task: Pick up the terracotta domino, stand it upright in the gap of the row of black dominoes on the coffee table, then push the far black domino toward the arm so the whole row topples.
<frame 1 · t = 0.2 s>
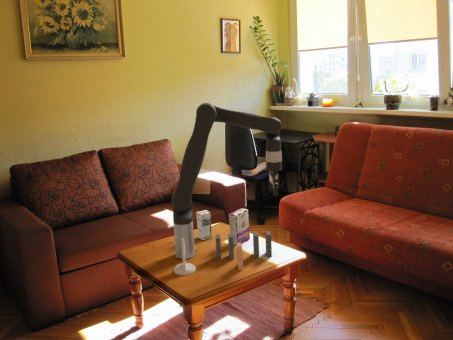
hand: (274, 193, 227), 29 cm above the table, tool pointing down, fingers open, 8 cm apart
domino 2: (256, 255, 227), on the table
domino 5: (218, 258, 226), on the table
candy bar box: (240, 242, 245), on the table
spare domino: (240, 267, 215), on the table
domino 1: (268, 254, 227), on the table
domino 4: (231, 257, 226), on the table
white paper towel holder: (184, 270, 214), on the table
syrup box: (204, 238, 253), on the table
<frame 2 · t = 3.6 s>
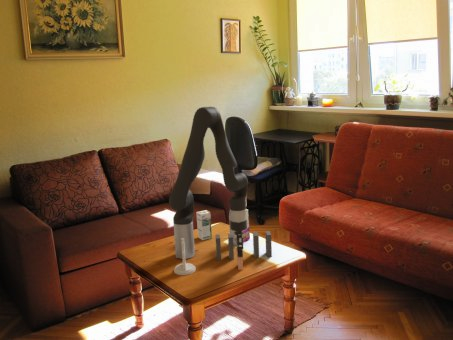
hand: (239, 254, 213), 6 cm above the table, tool pointing down, fingers closed on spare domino, 5 cm apart
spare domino: (240, 267, 215), on the table, touching gripper
everything else where it was.
when the fingers open (7 cm above the table, at t = 9.8 s): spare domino stays where it is, on the table.
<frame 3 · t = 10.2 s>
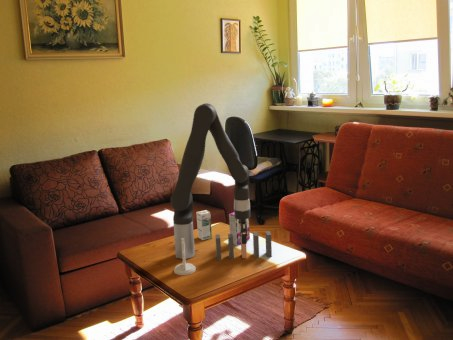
hand: (243, 240, 225), 8 cm above the table, tool pointing down, fingers open, 8 cm apart
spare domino: (244, 256, 227), on the table
everything else where it was.
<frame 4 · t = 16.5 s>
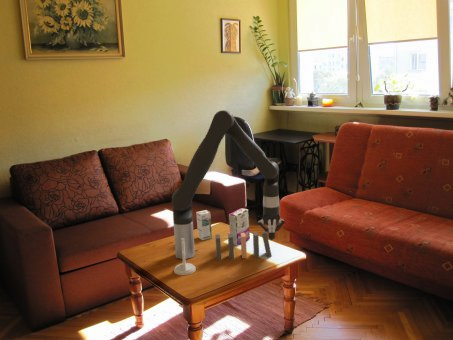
hand: (271, 239, 226), 8 cm above the table, tool pointing down, fingers closed
domino 1: (268, 254, 227), on the table, tilted 10°
everything else where it was.
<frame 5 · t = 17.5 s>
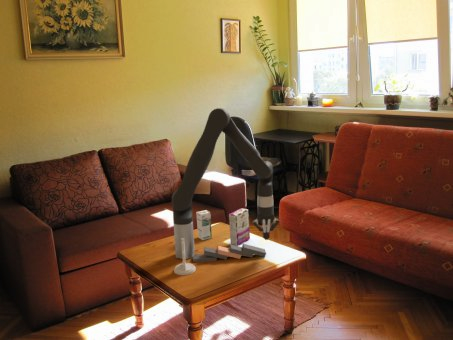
hand: (266, 239, 225), 8 cm above the table, tool pointing down, fingers closed
domino 2: (252, 253, 227), point 1 cm above the table, tilted 70°, touching domino 1, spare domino
domino 5: (216, 257, 226), on the table, tilted 90°
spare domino: (239, 254, 226), point 1 cm above the table, tilted 71°, touching domino 2, domino 4
domino 1: (264, 253, 227), point 1 cm above the table, tilted 71°, touching domino 2
domino 4: (226, 255, 226), point 1 cm above the table, tilted 73°, touching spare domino
everything else where it was.
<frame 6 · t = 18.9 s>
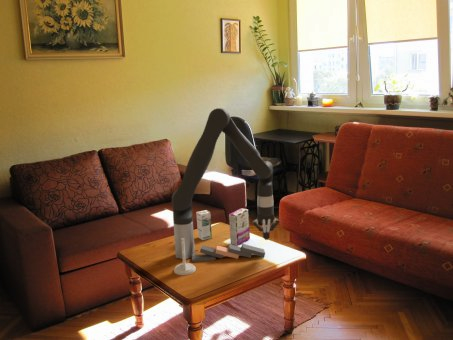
hand: (266, 239, 225), 8 cm above the table, tool pointing down, fingers closed
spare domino: (238, 254, 226), point 1 cm above the table, tilted 72°, touching domino 2
domino 4: (223, 255, 226), point 1 cm above the table, tilted 74°
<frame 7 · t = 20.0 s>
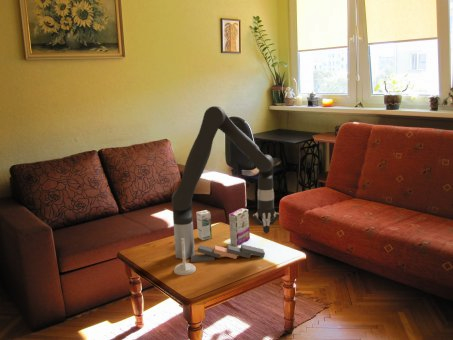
hand: (266, 232, 225), 11 cm above the table, tool pointing down, fingers closed
domino 5: (214, 257, 226), on the table, tilted 90°, touching domino 4
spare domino: (236, 255, 226), point 1 cm above the table, tilted 70°, touching domino 2, domino 4
domino 4: (220, 254, 226), point 2 cm above the table, tilted 75°, touching domino 5, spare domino
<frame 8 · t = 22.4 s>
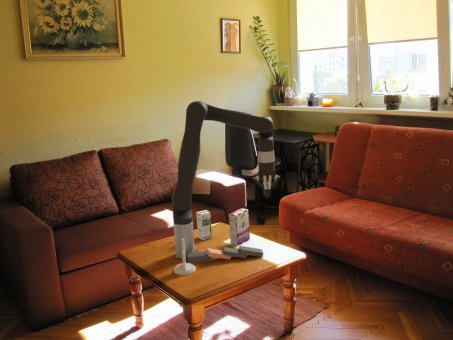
hand: (267, 196, 221), 29 cm above the table, tool pointing down, fingers closed
domino 2: (245, 254, 226), point 1 cm above the table, tilted 73°, touching domino 1, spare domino
domino 5: (211, 258, 225), on the table, tilted 90°
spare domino: (228, 255, 226), point 1 cm above the table, tilted 70°, touching domino 2, domino 4
domino 4: (211, 255, 224), point 2 cm above the table, tilted 90°, touching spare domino
at the end: domino 5 tilted 90°; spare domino tilted 70°; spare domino inside the target area (5.7 cm from its centre), point 1.1 cm above the table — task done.
